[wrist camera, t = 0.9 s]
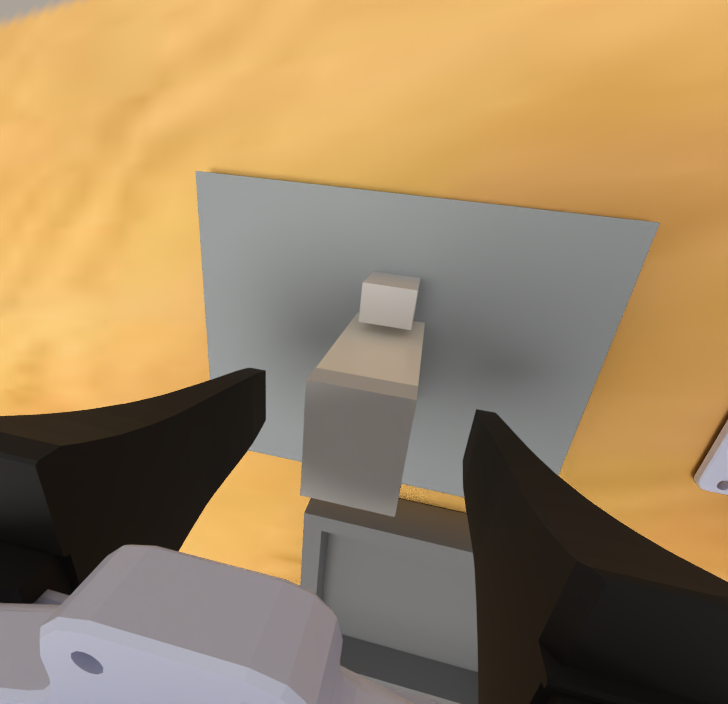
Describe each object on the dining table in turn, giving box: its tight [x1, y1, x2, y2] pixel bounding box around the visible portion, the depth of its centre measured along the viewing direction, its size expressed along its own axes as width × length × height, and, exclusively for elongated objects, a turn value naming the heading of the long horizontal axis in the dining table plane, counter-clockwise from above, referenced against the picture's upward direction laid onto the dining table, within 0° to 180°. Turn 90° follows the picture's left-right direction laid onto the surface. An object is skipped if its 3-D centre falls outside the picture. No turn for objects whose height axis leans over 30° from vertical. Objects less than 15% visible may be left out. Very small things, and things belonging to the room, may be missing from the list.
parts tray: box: [300, 498, 478, 704], centre depth 22 cm, size 14×14×2 cm
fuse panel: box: [196, 171, 660, 497], centre depth 16 cm, size 18×14×4 cm
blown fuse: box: [300, 312, 425, 517], centre depth 13 cm, size 3×4×7 cm
